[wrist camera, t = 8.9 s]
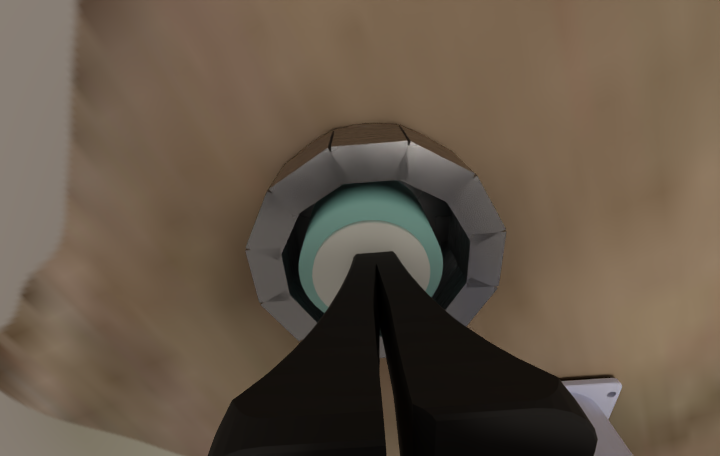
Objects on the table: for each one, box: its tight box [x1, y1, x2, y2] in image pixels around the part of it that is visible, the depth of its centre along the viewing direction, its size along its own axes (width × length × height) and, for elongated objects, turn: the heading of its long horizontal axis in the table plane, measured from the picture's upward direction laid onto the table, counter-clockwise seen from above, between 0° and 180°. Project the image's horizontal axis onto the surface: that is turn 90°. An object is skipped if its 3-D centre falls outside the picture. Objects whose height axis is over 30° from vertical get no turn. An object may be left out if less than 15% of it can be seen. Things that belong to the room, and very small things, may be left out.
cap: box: [299, 180, 443, 313], centre depth 13 cm, size 5×5×4 cm
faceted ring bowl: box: [245, 123, 506, 358], centre depth 14 cm, size 9×9×3 cm
